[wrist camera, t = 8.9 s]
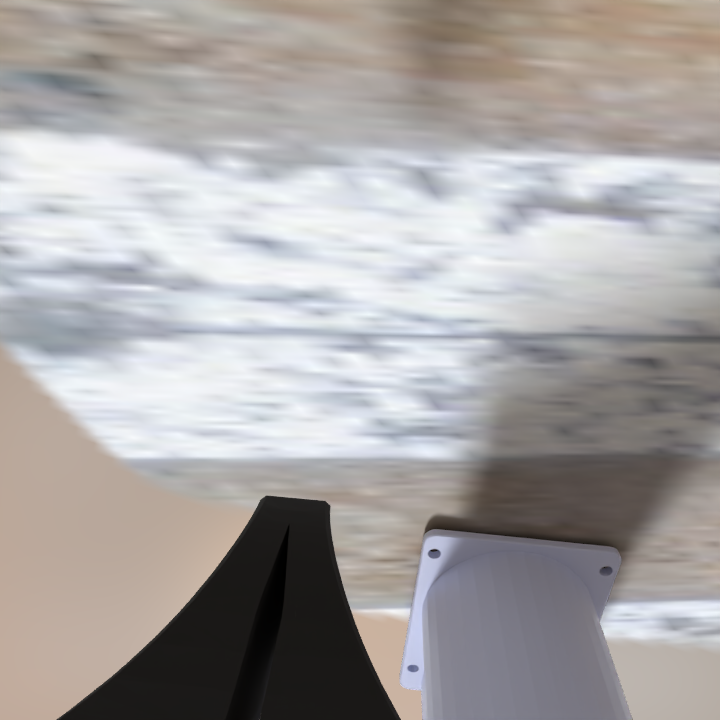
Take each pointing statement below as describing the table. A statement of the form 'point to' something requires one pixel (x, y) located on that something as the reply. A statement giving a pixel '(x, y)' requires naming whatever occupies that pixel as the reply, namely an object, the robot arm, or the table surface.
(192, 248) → the table surface
